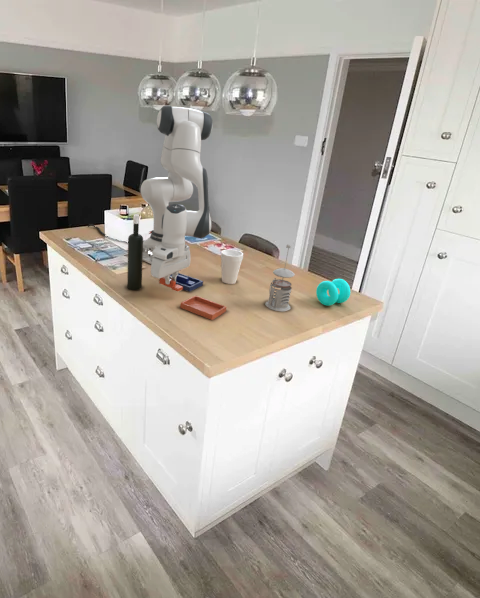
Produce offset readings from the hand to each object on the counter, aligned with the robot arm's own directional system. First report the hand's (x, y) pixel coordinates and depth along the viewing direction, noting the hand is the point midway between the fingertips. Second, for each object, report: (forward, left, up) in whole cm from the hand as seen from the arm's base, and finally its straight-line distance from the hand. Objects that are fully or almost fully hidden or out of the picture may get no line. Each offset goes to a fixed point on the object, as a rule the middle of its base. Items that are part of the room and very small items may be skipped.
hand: (170, 282), depth 162 cm
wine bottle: (-15, -4, -6) cm, 17 cm away
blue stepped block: (-3, +14, -5) cm, 15 cm away
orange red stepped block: (0, 0, -2) cm, 2 cm away
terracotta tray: (+17, -1, -6) cm, 18 cm away
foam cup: (+9, +31, -6) cm, 33 cm away
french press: (+36, +22, -6) cm, 42 cm away
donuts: (+51, +41, -6) cm, 66 cm away
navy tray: (-4, +14, -6) cm, 15 cm away
